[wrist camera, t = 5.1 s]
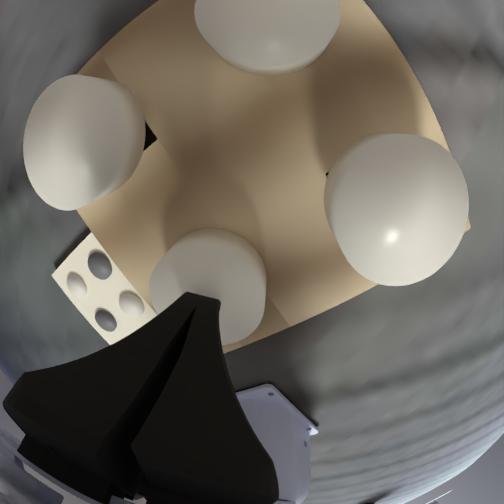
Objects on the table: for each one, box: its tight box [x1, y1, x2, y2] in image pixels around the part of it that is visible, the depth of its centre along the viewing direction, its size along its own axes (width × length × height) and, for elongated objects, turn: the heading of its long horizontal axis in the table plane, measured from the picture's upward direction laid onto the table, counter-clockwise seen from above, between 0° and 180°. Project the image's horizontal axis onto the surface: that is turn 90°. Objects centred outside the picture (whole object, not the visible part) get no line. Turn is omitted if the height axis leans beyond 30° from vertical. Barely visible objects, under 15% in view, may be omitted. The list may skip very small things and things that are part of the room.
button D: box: [23, 75, 146, 210], centre depth 9 cm, size 5×5×4 cm
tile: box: [52, 232, 157, 345], centre depth 16 cm, size 7×7×1 cm
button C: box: [194, 0, 341, 76], centre depth 8 cm, size 5×5×4 cm
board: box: [76, 0, 470, 354], centre depth 11 cm, size 17×17×2 cm
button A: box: [324, 132, 469, 286], centre depth 9 cm, size 5×5×4 cm
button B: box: [149, 228, 267, 345], centre depth 13 cm, size 5×5×4 cm
